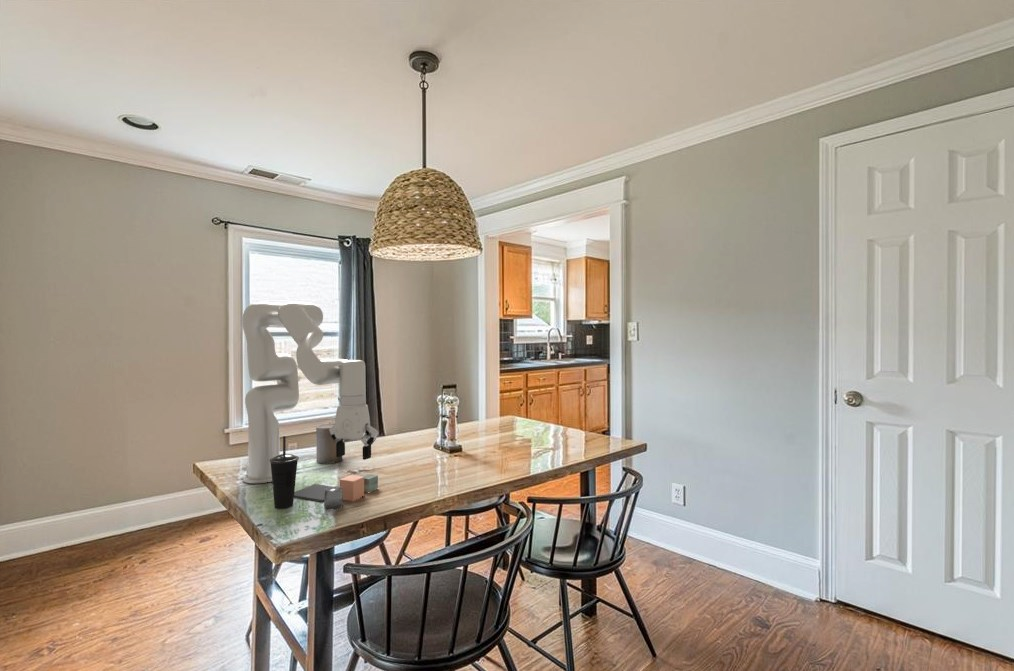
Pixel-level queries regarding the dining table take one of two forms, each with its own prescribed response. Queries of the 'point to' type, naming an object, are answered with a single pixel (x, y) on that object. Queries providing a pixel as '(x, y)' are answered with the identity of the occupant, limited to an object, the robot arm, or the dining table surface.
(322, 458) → the pillar candle
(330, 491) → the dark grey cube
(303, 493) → the black mat
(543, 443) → the dining table surface
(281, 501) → the drinking cup
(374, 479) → the green cube
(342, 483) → the terracotta block
